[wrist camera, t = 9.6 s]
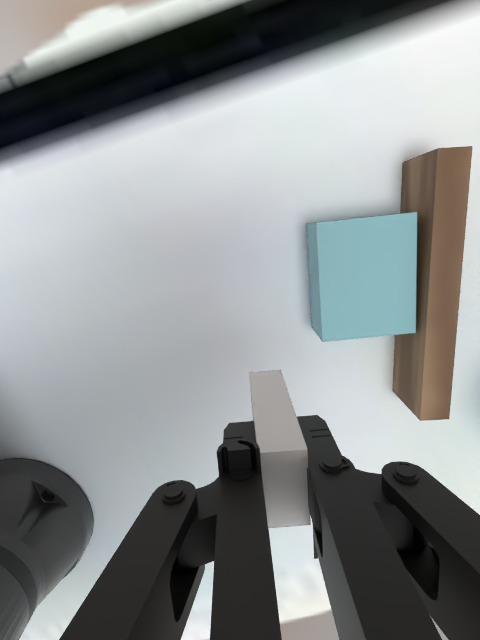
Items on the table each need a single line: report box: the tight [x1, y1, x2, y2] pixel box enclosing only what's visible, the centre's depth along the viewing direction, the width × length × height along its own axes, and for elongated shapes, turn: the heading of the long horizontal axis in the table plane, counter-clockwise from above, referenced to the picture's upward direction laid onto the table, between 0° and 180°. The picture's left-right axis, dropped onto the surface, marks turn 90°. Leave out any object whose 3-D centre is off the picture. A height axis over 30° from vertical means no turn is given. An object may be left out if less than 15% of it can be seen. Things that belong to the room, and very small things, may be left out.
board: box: [393, 146, 472, 421], centre depth 32 cm, size 2×22×6 cm, turn 3°
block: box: [306, 212, 417, 342], centre depth 33 cm, size 8×10×5 cm
